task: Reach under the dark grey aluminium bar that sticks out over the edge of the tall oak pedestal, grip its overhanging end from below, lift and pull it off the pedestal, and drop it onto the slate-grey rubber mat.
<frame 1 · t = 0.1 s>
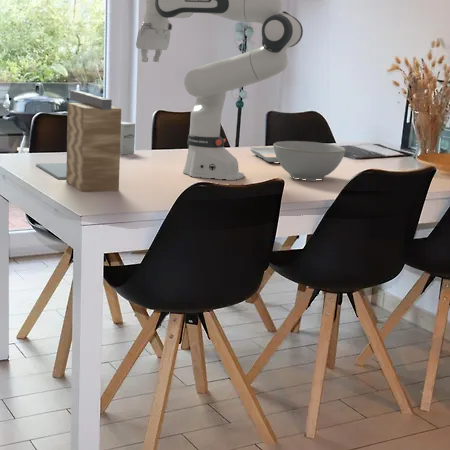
hand: (150, 61, 290), 39 cm above the table, tool pointing down, fingers open, 8 cm apart
supplement box: (122, 153, 327), on the table
square plate: (286, 161, 338), on the table
bar: (89, 104, 253), point 26 cm above the table, touching pedestal
decorative bowl: (306, 178, 297), on the table
mat: (66, 171, 278), on the table
pedestal: (92, 186, 256), on the table
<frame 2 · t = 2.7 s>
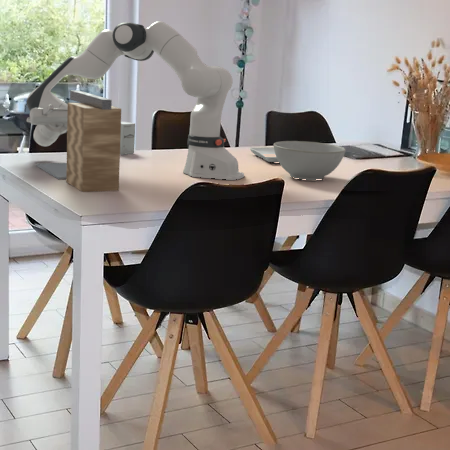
hand: (64, 107, 276), 22 cm above the table, tool pointing upward, fingers open, 8 cm apart
nothing on the table moved.
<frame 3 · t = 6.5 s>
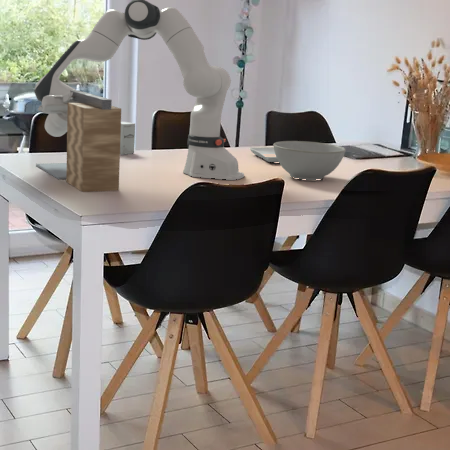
hand: (78, 94, 262), 28 cm above the table, tool pointing upward, fingers closed on bar, 3 cm apart
bar: (89, 104, 253), point 26 cm above the table, touching gripper, pedestal
everything else where it was.
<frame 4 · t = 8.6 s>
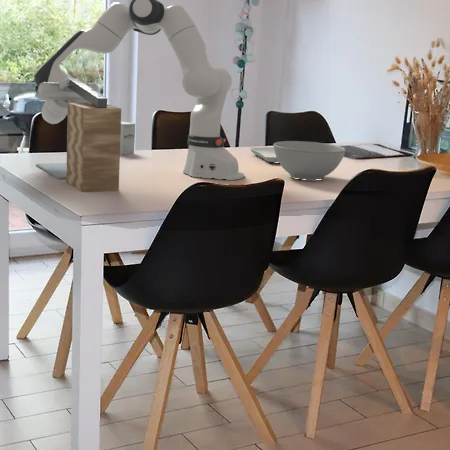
hand: (74, 81, 264), 32 cm above the table, tool pointing upward, fingers closed on bar, 3 cm apart
bar: (85, 96, 256), point 28 cm above the table, tilted 8°, touching gripper
everything else where it was.
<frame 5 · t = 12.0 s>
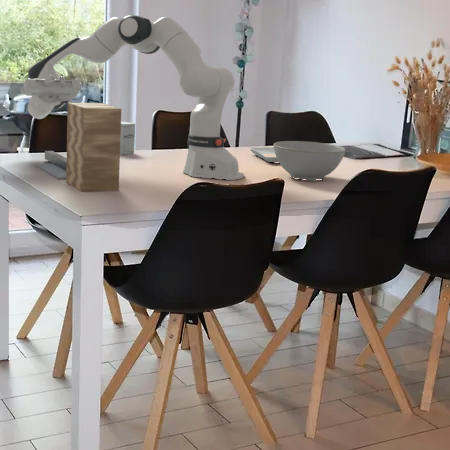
hand: (57, 77, 280), 32 cm above the table, tool pointing upward
bar: (61, 165, 284), point 1 cm above the table, touching mat
everything else where it was.
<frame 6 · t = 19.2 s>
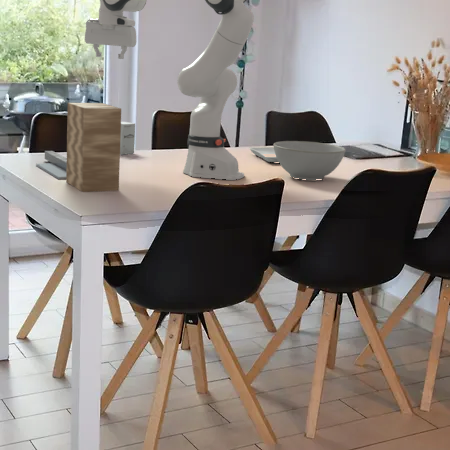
hand: (109, 57, 296), 39 cm above the table, tool pointing down, fingers open, 8 cm apart
nothing on the table moved.
at the end: bar touching mat; bar point 0.8 cm above the table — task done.
